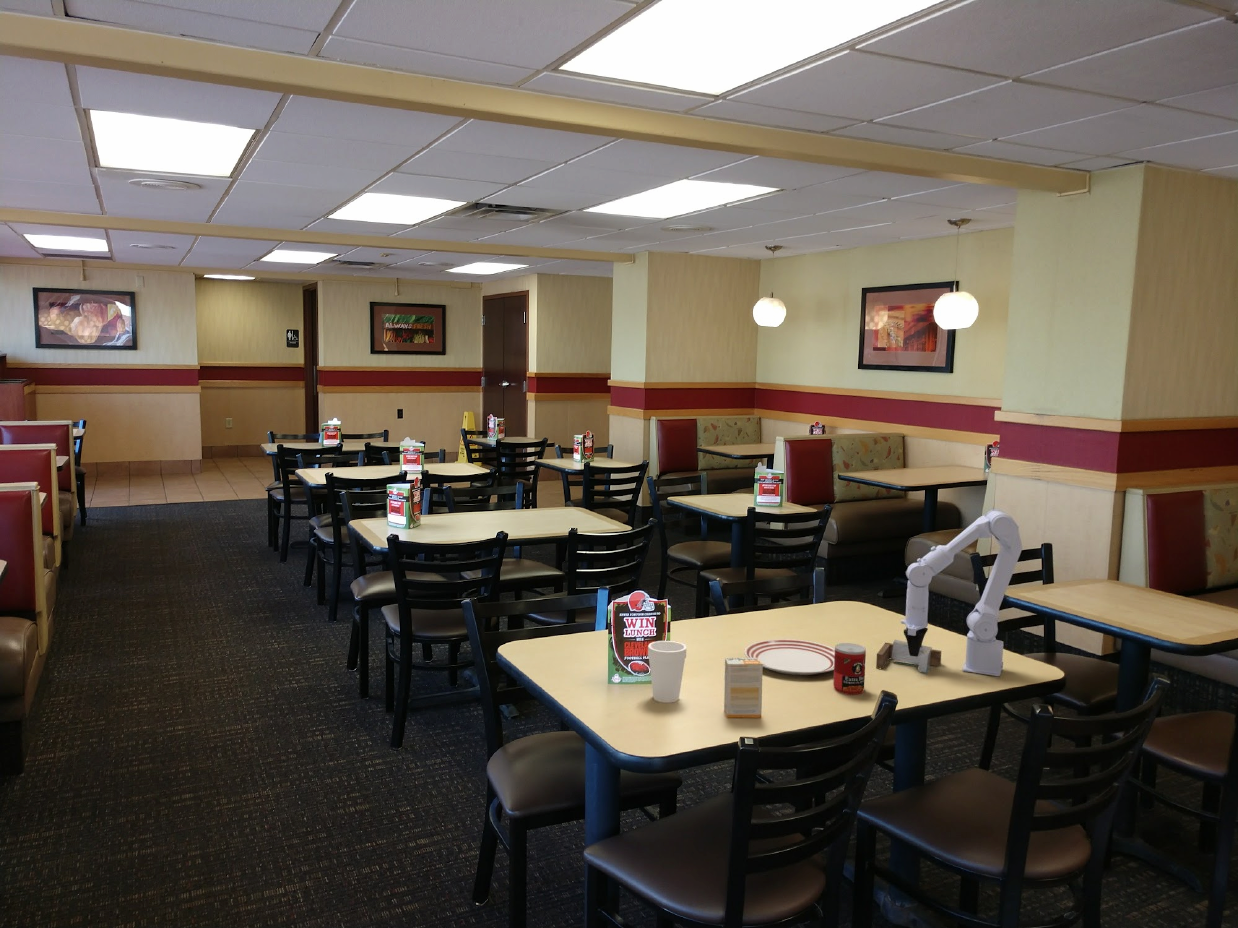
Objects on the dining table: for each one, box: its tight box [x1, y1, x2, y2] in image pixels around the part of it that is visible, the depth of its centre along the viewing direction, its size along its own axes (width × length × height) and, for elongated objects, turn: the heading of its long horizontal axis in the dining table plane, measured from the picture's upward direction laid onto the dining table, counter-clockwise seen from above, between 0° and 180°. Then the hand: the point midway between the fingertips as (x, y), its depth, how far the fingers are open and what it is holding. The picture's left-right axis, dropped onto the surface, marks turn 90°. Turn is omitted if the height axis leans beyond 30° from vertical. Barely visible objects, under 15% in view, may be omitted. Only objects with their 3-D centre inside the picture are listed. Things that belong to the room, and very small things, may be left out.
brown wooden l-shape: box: [875, 642, 942, 670], centre depth 247 cm, size 15×12×4 cm
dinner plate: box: [744, 638, 835, 676], centre depth 247 cm, size 28×27×3 cm
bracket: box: [891, 639, 933, 673], centre depth 246 cm, size 10×7×5 cm
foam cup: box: [647, 640, 687, 704], centre depth 219 cm, size 10×9×13 cm
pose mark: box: [894, 660, 931, 675], centre depth 246 cm, size 9×7×1 cm
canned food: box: [833, 642, 867, 695], centre depth 227 cm, size 8×8×11 cm
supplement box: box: [723, 657, 764, 719], centre depth 209 cm, size 8×5×13 cm, turn 92°
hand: (914, 654), depth 248 cm, fingers closed on bracket
